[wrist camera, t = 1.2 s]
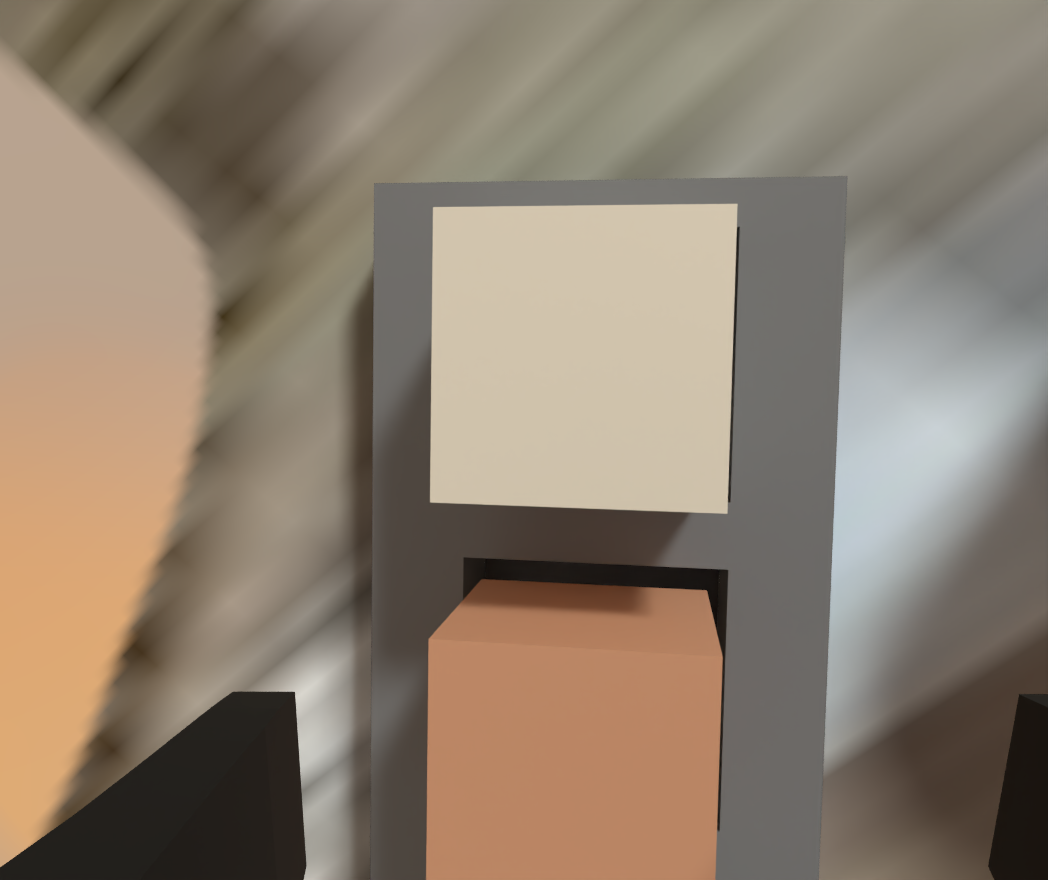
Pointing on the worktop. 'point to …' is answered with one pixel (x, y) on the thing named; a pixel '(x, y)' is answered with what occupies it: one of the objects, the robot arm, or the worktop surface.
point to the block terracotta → (574, 734)
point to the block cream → (583, 356)
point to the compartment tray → (632, 535)
